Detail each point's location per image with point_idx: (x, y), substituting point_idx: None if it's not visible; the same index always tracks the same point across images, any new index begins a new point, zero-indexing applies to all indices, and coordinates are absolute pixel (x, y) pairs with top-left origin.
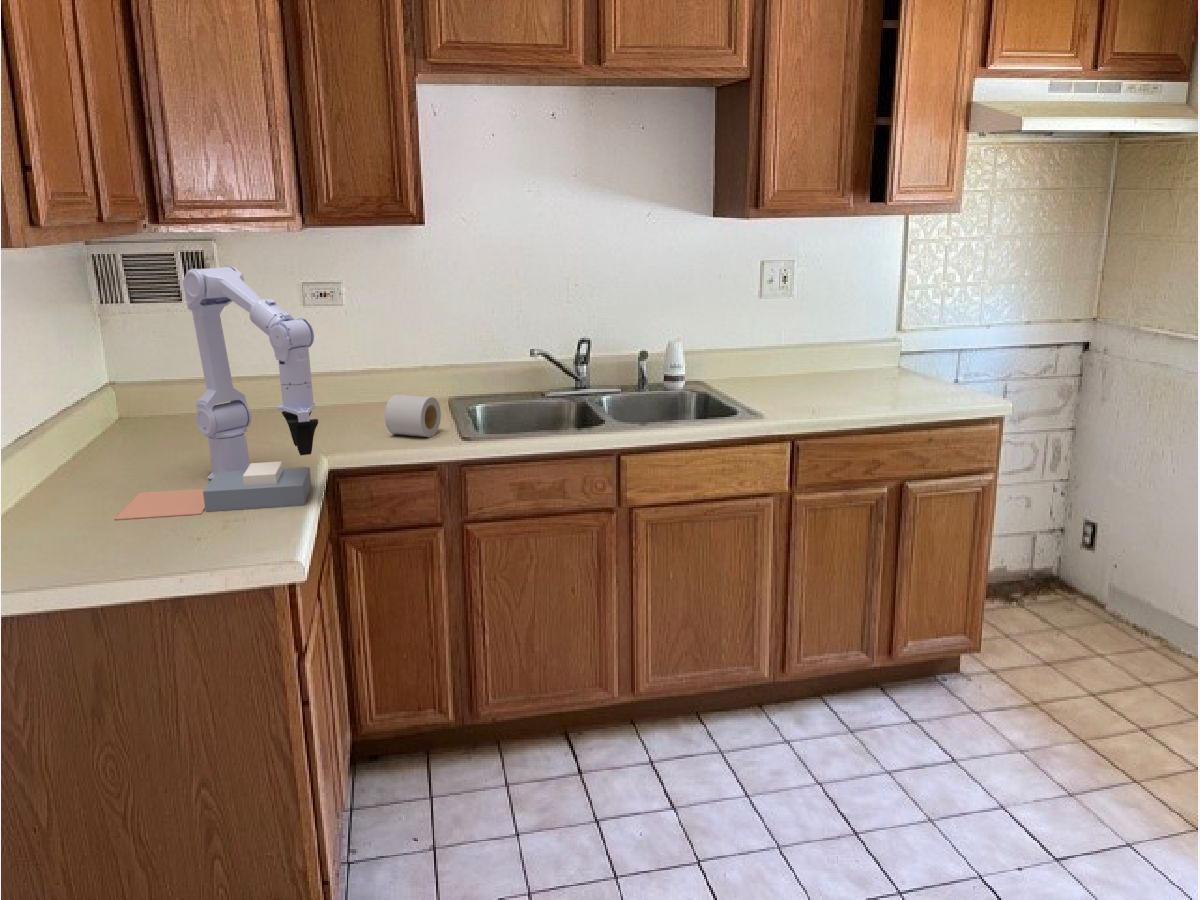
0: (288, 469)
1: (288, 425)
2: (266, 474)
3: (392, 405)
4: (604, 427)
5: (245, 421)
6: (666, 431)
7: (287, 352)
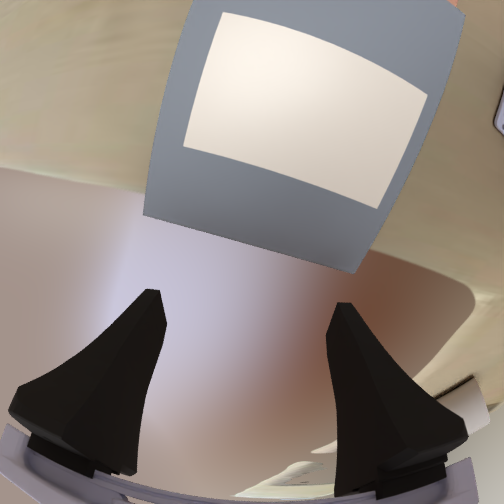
0: (369, 213)
1: (396, 379)
2: (195, 109)
3: (479, 415)
4: (319, 466)
5: None
6: (277, 475)
7: None
